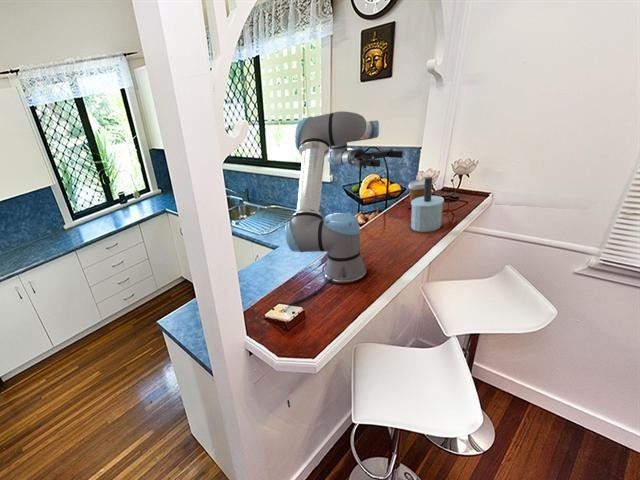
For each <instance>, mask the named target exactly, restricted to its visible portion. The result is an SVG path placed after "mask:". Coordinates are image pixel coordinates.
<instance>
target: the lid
mask: <svg viewBox="0 0 640 480" xmlns="http://www.w3.org/2000/svg"><path fill="white" fill-rule="evenodd" d="M424 180H425V183H424V196H423V197H418V198H415V199H413V200H412V201H411V200H410V205H411V204H412V205H413V206H417V207H431V206H436V205H439V204H442V203H443V204H444V202H445V199H444V197H442V196H440V195H432V193H433V192H432V191H433V176H426V177H424Z"/></svg>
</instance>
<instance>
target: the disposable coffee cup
mask: <svg viewBox="0 0 640 480" xmlns="http://www.w3.org/2000/svg"><path fill="white" fill-rule="evenodd" d="M419 180H420V179H416V180H412V181H410V182H409V183H408V185H407V187H408V189H409V198H410V202H411V201H412V200H413V199H415V198H418V197H423V196H424V183H425V181H419ZM410 208H412V204H411V203H410Z"/></svg>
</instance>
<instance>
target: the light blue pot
mask: <svg viewBox="0 0 640 480" xmlns="http://www.w3.org/2000/svg"><path fill="white" fill-rule="evenodd" d="M443 206H444V202H443V203H442V204H439V205H436V206H431V207H417V206H413V205H412V207H411V219H410V221H411V222H410V227H411V230H413V231H416V232H422V233H426V232H428V233H429V232H434V231H437V230H440V229H441V228H442V221H443V208H444V207H443Z"/></svg>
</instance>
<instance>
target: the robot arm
mask: <svg viewBox="0 0 640 480" xmlns="http://www.w3.org/2000/svg"><path fill="white" fill-rule="evenodd" d="M379 135H380V122H379V120H370V121H368V120H366V119H365V117H364V116H363V115H361V114H359V113H356V112H352V111H341V110H340V111H335V112H330V113H326V114H322V115H321V114H320V115H316V116H315V115H314V116H308V117H306V118H302V119H300V120H299V121H298V123H297V125H296V128H295V133H294V138H295V140H294V144H295V147H296V150H297V151H298V153H299V154H300V155H301V163H300V164H301V166H300V175H299V182H298V183H299V184H298V192H297V193H298V194H297V204H296V211H295V212H294V213H292V215H291V221H289V220H288V221H287V222H286V223H285V226H284V235H285V242H286V245H287V247H288V249H289V250H290V251H291V252H294V253H296V252H297V253H316V252H322V253H323V252H327V261H326V267H325V269H324V278H325V280H326V282H325V283H324V284H323V285H322V286H321V287H319V288H318V289H317V290H316V291H314V292H312V293H310V294H309V295H306V296H305V297H303V298H300V299H297V300H294V301H292V302H290V303H288V304H287V305H290V306H289V307H291V306H293V305H296V304H298V303H301V302H303V301H306V300H309V299H310V298H311V297H313V296H315V295H317V294H318V293H320V292H321V291H322V290H323V289H324V288H325V287H326V286H328V285H329V283H332V284H336V285H351V284H355V283H357V282H360V281H362V280H363V279H364V278H366V276H367V267H366V264H365V260H363V257H362V254H361V237H360V236H361V234H360V232H361V228H360V223H359V219H358V218H357V217H356V215H353V214H351V213H347V212H334V213H329V214H327V215H326V216H325V217H324V216H323V215H322V214H321V213H320V208H321V198H322V189H323V177H324V167H325V157H326V156H327V162H328V163H329V164H331V165H334V166H348V167H349V168H351V167H358V168H363V169H367V167H373V168H375V167H376V168H380V167H381V159H383V158H393V159H394V158H395V159H402V158H403V156H404V153H403V150H394V149H392V148H389V149H383V150H371V151H365V150H364V149H363V148H348V143H354V142H360V141H367V140H373V139H377V138H378V137H379ZM330 147H331V149H330ZM286 403H287V406H288V408H291V404H290V399H288V400H286Z"/></svg>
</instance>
